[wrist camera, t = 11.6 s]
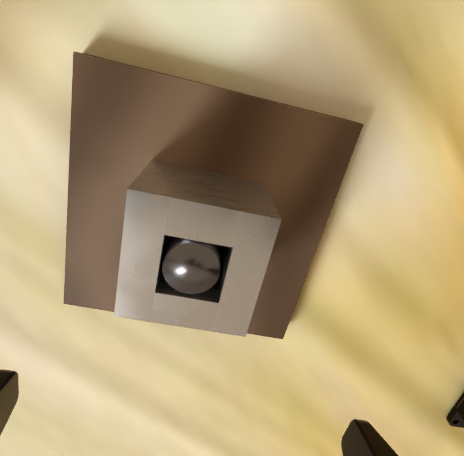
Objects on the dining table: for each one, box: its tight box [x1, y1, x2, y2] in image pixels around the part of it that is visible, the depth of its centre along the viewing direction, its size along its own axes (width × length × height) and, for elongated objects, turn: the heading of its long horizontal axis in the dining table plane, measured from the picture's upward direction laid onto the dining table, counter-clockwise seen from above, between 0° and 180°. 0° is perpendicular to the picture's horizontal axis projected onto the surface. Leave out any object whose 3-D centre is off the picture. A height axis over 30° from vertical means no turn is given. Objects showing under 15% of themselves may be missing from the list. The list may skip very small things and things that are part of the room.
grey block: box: [114, 159, 282, 337], centre depth 16 cm, size 6×6×5 cm
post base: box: [64, 52, 363, 339], centre depth 17 cm, size 14×14×6 cm
